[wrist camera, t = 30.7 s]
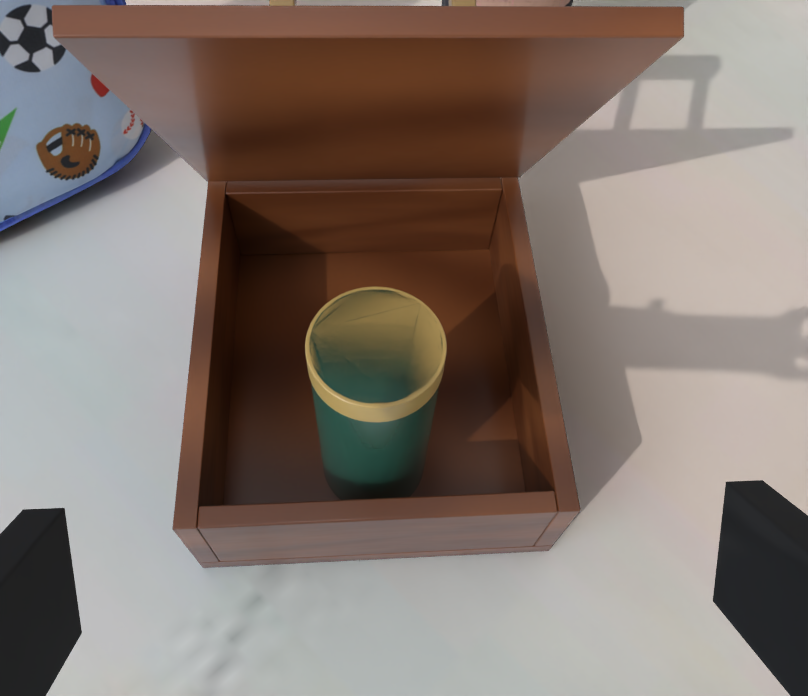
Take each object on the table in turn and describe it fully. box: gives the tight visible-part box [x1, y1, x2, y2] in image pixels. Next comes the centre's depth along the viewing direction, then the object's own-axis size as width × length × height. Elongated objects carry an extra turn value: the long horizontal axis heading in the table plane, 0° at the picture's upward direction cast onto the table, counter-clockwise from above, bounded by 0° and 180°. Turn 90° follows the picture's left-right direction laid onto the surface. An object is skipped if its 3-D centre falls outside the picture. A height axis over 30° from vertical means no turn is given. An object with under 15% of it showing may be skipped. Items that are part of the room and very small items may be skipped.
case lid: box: [52, 0, 684, 182], centre depth 27 cm, size 19×16×7 cm
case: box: [173, 177, 580, 568], centre depth 35 cm, size 18×16×6 cm
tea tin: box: [305, 286, 447, 500], centre depth 30 cm, size 5×5×11 cm
